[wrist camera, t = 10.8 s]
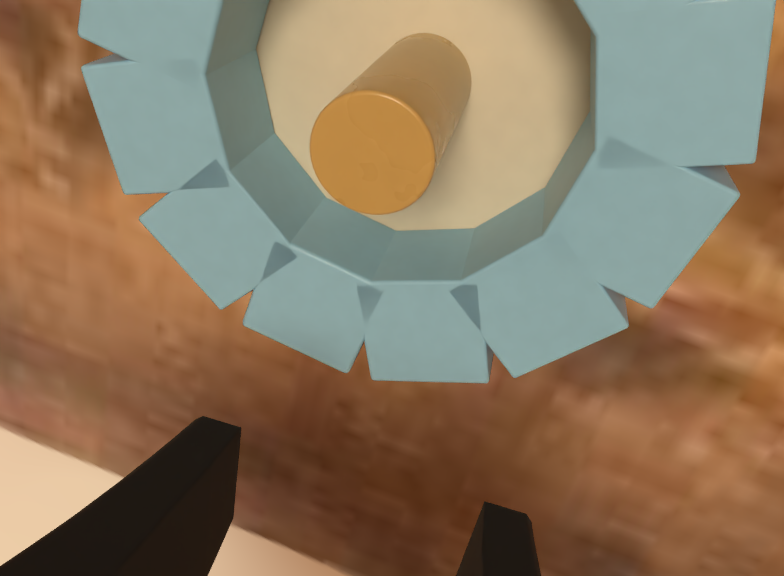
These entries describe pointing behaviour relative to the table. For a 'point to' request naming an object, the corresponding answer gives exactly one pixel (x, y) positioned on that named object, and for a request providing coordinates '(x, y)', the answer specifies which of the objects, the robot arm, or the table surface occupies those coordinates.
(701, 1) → the ring
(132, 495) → the robot arm
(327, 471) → the table surface
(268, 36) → the peg stand
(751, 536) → the table surface
